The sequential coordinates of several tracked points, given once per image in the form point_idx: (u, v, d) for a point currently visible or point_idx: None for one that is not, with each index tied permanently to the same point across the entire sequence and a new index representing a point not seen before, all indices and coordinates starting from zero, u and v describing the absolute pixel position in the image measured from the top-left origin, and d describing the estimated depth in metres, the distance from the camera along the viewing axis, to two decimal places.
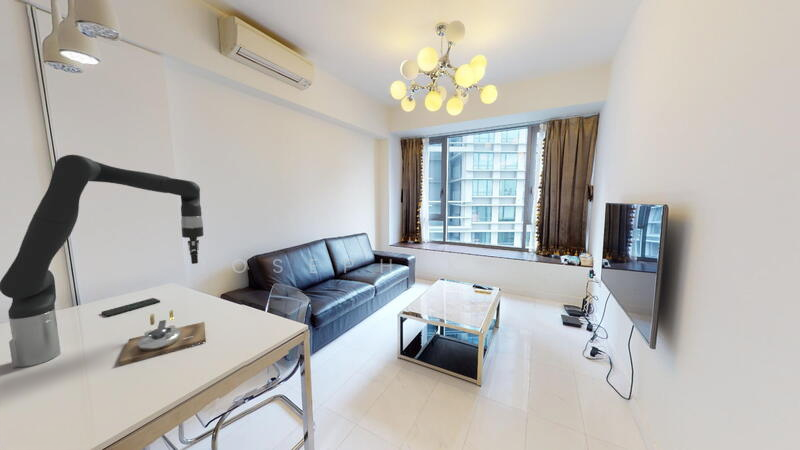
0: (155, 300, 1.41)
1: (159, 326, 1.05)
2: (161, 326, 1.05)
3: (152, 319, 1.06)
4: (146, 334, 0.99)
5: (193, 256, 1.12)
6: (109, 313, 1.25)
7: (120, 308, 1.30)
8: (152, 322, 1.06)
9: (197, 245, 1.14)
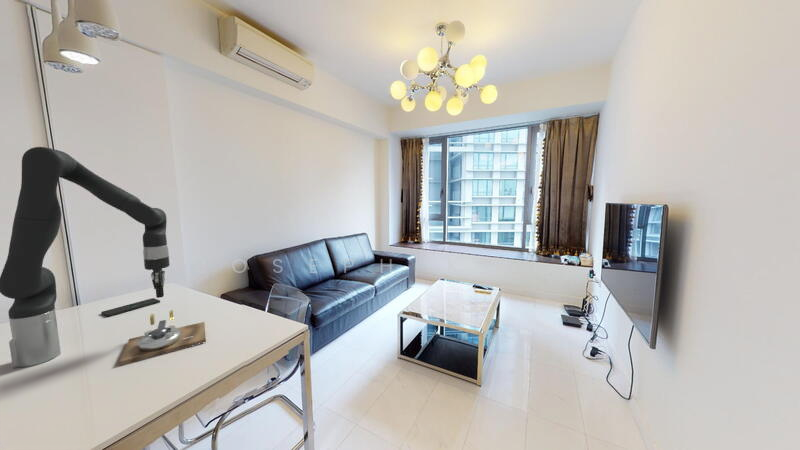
0: (155, 300, 1.41)
1: (159, 326, 1.05)
2: (161, 326, 1.05)
3: (152, 319, 1.06)
4: (146, 334, 0.99)
5: (158, 290, 1.06)
6: (109, 313, 1.24)
7: (120, 308, 1.30)
8: (152, 322, 1.06)
9: (162, 278, 1.06)
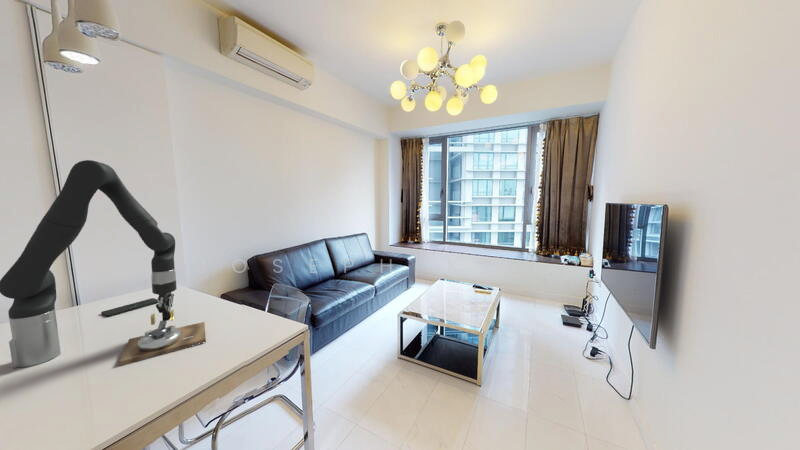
0: (155, 300, 1.41)
1: (159, 326, 1.05)
2: (161, 326, 1.05)
3: (153, 319, 1.06)
4: (146, 334, 0.99)
5: (164, 313, 1.07)
6: (109, 313, 1.24)
7: (120, 308, 1.30)
8: (153, 322, 1.06)
9: (168, 302, 1.07)
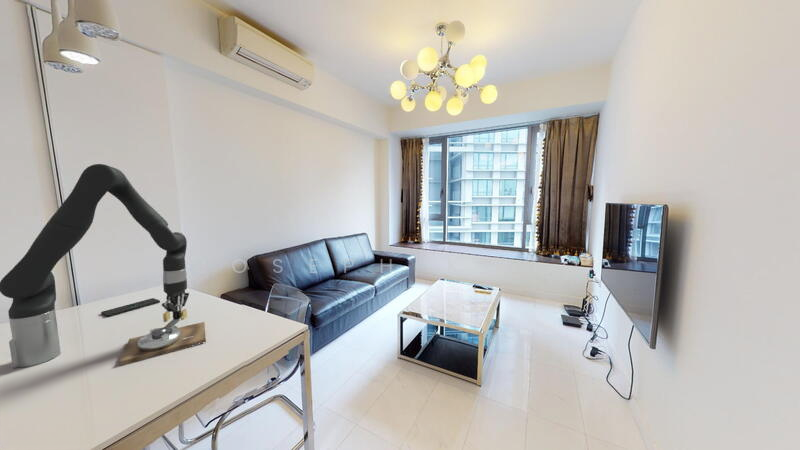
0: (155, 300, 1.41)
1: (167, 324, 1.06)
2: (168, 325, 1.06)
3: (165, 316, 1.09)
4: (150, 332, 1.01)
5: (173, 312, 1.08)
6: (109, 313, 1.24)
7: (120, 308, 1.30)
8: (165, 319, 1.09)
9: (176, 302, 1.08)
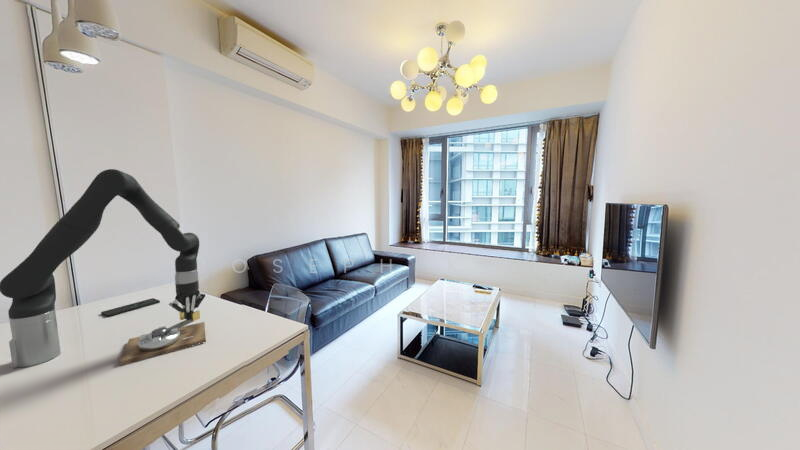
0: (155, 300, 1.41)
1: (176, 324, 1.07)
2: (176, 325, 1.06)
3: (180, 314, 1.10)
4: None
5: (184, 312, 1.08)
6: (109, 313, 1.24)
7: (120, 308, 1.30)
8: (180, 317, 1.10)
9: (185, 303, 1.07)
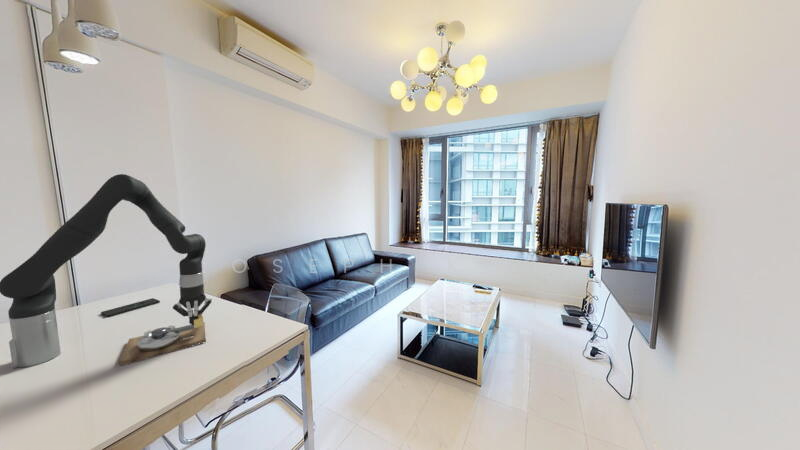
0: (155, 300, 1.40)
1: (182, 327, 1.05)
2: (181, 328, 1.04)
3: None
4: None
5: None
6: (109, 313, 1.24)
7: (119, 308, 1.30)
8: None
9: (186, 307, 1.03)
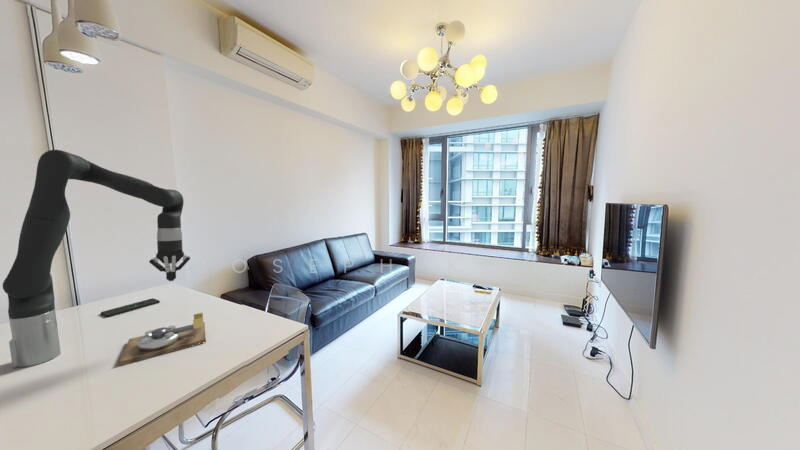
0: (155, 300, 1.40)
1: (182, 327, 1.04)
2: (181, 328, 1.04)
3: None
4: None
5: None
6: (109, 313, 1.24)
7: (119, 308, 1.30)
8: None
9: (164, 262, 1.02)
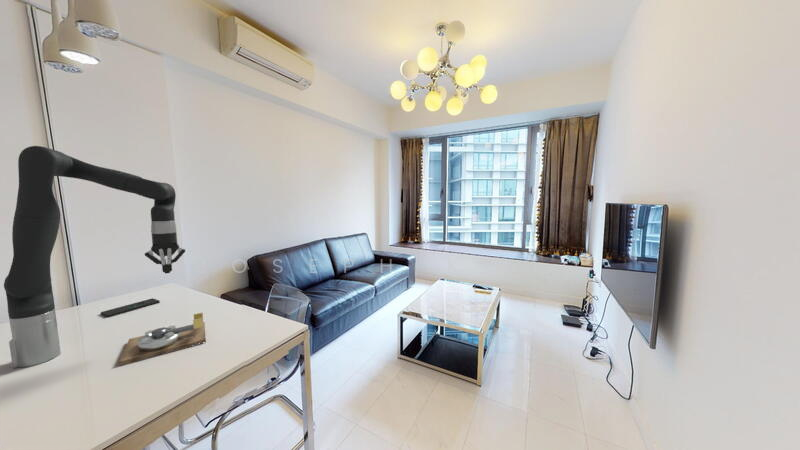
0: (155, 300, 1.40)
1: (182, 327, 1.04)
2: (181, 328, 1.04)
3: None
4: None
5: (162, 265, 1.05)
6: (109, 314, 1.24)
7: (119, 308, 1.30)
8: None
9: (159, 255, 1.03)
